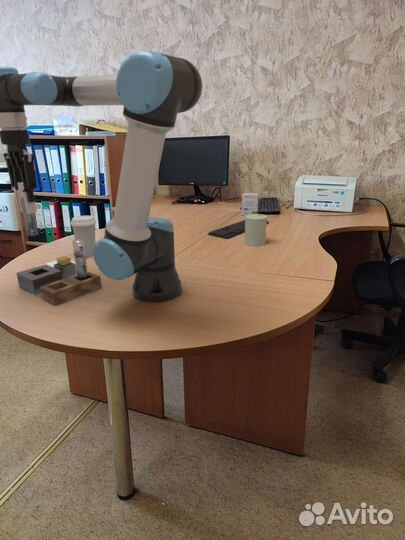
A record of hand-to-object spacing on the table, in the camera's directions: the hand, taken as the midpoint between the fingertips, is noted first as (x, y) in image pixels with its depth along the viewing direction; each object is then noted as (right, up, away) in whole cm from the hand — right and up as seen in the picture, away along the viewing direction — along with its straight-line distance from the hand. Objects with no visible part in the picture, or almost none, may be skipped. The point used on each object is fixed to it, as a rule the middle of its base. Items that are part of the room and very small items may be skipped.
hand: (28, 212), depth 117 cm
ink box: (+78, +13, +97) cm, 125 cm away
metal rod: (0, -7, +3) cm, 7 cm away
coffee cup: (+6, -12, +38) cm, 40 cm away
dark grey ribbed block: (+70, +2, +71) cm, 100 cm away
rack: (+12, -25, +3) cm, 28 cm away
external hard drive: (-2, -17, +26) cm, 31 cm away
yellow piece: (+6, -19, +15) cm, 25 cm away
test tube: (+15, -23, +6) cm, 29 cm away
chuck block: (+2, -22, +11) cm, 25 cm away
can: (+75, -6, +49) cm, 90 cm away
